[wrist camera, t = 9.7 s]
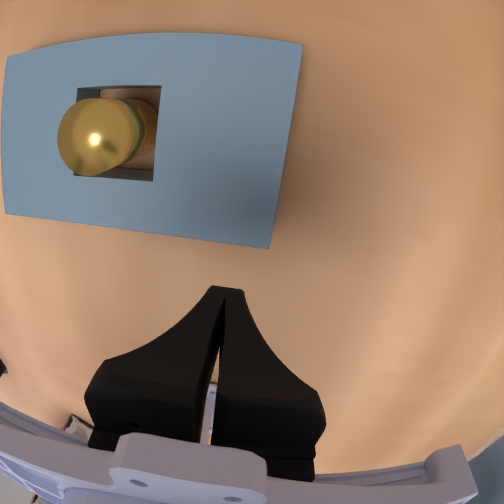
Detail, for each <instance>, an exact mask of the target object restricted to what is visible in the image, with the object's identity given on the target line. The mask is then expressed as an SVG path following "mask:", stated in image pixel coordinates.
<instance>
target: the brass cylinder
mask: <svg viewBox="0 0 504 504" xmlns="http://www.w3.org/2000/svg"><path fill="white" fill-rule="evenodd" d="M157 124H158V114H157V112H156V111H155V109H154V108H153V107H152V106H151V105H150V104H148V103H147V102H145V101H142V100H133V99H104V98H89V99H84V100H81V101H79V102H77V103H75V104H74V105H72V106H71V107H70V108H69V109H68V110H67V111H66V113H65V114H64V116H63V118H62V120H61V122H60V125H59V128H58V134H57V144H58V150H59V153H60V156H61V158H62V160H63V162H64V163H65V164H66V166H67V167H68V168H69V169H70V170H72V171H73V172H75V173H77V174H79V175H82V176H94V175H97V174H100V173H102V172H104V171H107V170H109V169H111V168H113V167H116V166H118V165H120V164H123V163H125V162H127V161H130V160H132V159H134V158H137V157H139V156H142V155H144V154H146V153H147V152H149V151H150V150H151V149H152V148H153V147H154V145H155V144H156V134H157Z"/></svg>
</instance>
